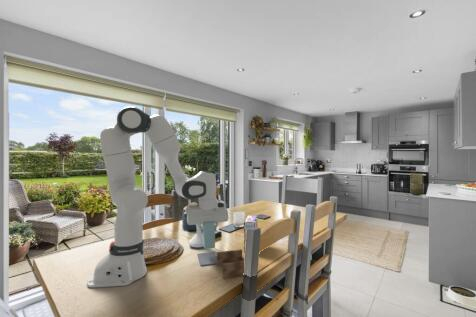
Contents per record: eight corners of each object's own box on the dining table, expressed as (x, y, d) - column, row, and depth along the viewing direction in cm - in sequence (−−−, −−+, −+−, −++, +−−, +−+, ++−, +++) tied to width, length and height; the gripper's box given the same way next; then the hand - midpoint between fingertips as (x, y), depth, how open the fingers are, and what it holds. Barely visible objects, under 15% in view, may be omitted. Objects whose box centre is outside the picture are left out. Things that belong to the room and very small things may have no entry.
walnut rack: (223, 279, 100) (223, 264, 100) (217, 265, 112) (216, 252, 112) (250, 274, 103) (250, 260, 103) (241, 261, 116) (241, 249, 115)
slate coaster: (200, 266, 111) (200, 265, 111) (197, 254, 124) (197, 253, 124) (219, 263, 114) (219, 262, 114) (214, 252, 126) (214, 251, 126)
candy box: (254, 253, 125) (254, 222, 125) (243, 252, 126) (243, 221, 126) (258, 243, 138) (257, 215, 138) (247, 243, 140) (247, 214, 139)
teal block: (204, 249, 114) (204, 223, 113) (202, 242, 122) (201, 218, 122) (215, 247, 115) (214, 222, 115) (211, 241, 124) (211, 217, 123)
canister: (178, 228, 168) (178, 203, 168) (194, 224, 177) (194, 200, 176) (188, 232, 158) (188, 206, 158) (204, 228, 167) (204, 203, 167)
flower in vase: (206, 240, 143) (206, 199, 143) (210, 247, 133) (210, 202, 132) (184, 243, 139) (184, 200, 139) (186, 251, 128) (186, 204, 128)
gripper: (186, 206, 112) (187, 236, 112) (229, 203, 118) (229, 231, 118) (185, 204, 118) (186, 232, 118) (226, 201, 124) (226, 227, 124)
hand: (208, 231), depth 118 cm, fingers closed on teal block, 5 cm apart
